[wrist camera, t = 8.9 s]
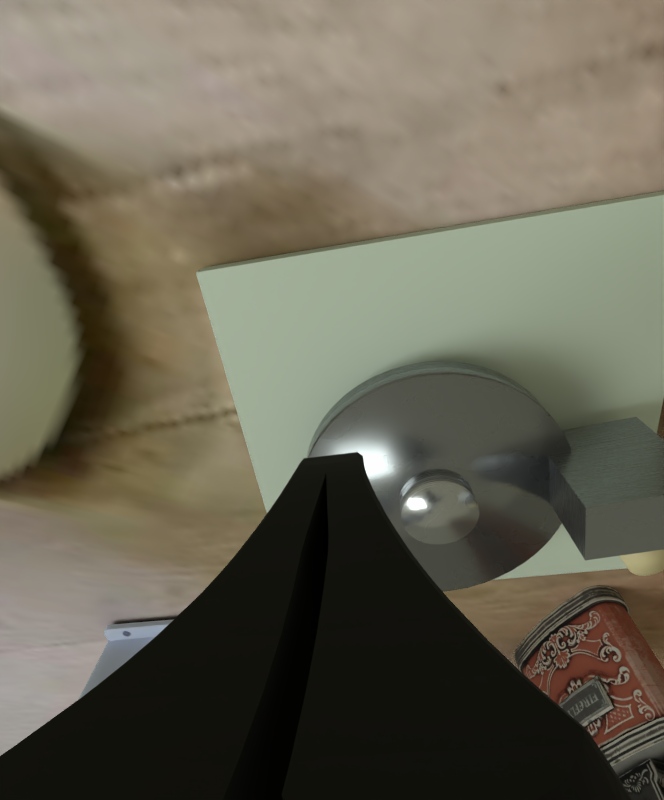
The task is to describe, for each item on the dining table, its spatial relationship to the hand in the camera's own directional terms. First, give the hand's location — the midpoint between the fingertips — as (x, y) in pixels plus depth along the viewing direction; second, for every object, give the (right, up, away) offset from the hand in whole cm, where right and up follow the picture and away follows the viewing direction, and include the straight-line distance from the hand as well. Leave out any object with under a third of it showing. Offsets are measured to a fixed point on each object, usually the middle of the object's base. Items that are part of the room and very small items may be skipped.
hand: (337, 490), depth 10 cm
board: (+5, +1, +11) cm, 12 cm away
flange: (+6, -1, +9) cm, 11 cm away
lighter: (+14, -12, +17) cm, 25 cm away
